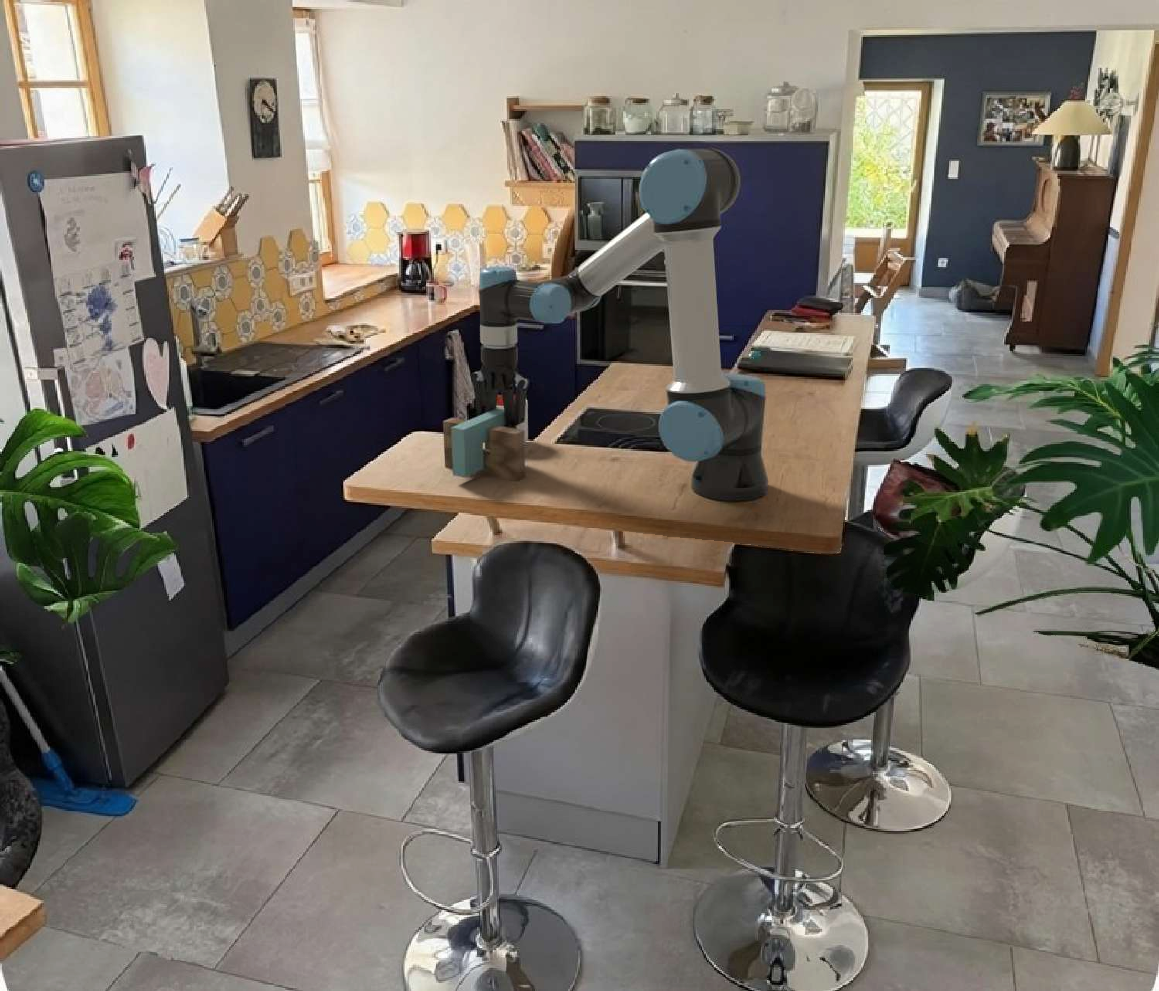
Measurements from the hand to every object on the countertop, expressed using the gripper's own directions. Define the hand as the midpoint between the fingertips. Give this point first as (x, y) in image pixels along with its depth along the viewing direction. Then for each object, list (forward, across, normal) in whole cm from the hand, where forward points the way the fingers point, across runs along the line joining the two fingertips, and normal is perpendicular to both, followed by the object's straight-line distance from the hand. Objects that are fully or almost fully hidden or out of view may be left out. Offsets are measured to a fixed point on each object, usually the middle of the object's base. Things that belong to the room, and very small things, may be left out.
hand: (501, 453), depth 217 cm
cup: (+2, +7, -12) cm, 15 cm away
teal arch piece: (+1, 0, +6) cm, 6 cm away
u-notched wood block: (+2, 0, +6) cm, 7 cm away
